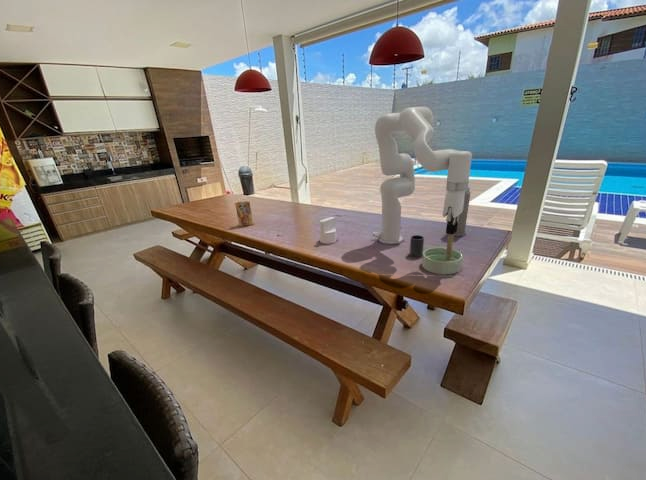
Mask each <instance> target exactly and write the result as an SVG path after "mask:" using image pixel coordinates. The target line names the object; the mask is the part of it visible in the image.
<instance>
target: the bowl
mask: <svg viewBox="0 0 646 480" xmlns="http://www.w3.org/2000/svg"><path fill="white" fill-rule="evenodd" d="M446 250H447V247H437V246H436V247H429V248H426V249H425V250H423V256H422V259H421V266H422V268H423V269H424V270H425V271H427V272H429V273H432V274H436V275H453V274H454V275H455V274H456V273H459V272H460V271H461V270H462V264H463V257H464V256H463V254H462V253H461V252H460V251H459V250H456V249H453V248H452V252H451V260H450V261H449V262H447V261H445V258H446Z"/></svg>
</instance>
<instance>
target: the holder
mask: <svg viewBox="0 0 646 480" xmlns="http://www.w3.org/2000/svg"><path fill="white" fill-rule="evenodd" d="M424 245H425V237H424V236H423V235H419V234H415V235H411V236H410V241H409V257H412V258H421V257H423V252H424V247H425V246H424Z"/></svg>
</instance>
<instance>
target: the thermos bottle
mask: <svg viewBox="0 0 646 480" xmlns="http://www.w3.org/2000/svg"><path fill="white" fill-rule="evenodd" d="M469 182H470V180H469V181H468V184H469ZM470 189H471V188H470V186H468V189H467V191H465V197H464V206H463V211H462V213H461V214H460V215H459V219H458V222H456V223H458V226H457V232H455V233H454V236H453V237H463V236H465V234H466V226H467V219H468V212H469V206H470V198H471V190H470Z"/></svg>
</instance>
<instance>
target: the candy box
mask: <svg viewBox="0 0 646 480" xmlns="http://www.w3.org/2000/svg"><path fill="white" fill-rule="evenodd" d="M234 205H235V210H236V216H237V221H238V225H239V227H243V226H251V225H254V220H253V214H252V208H251V202H250V200H249V199H248V200H240V201H235V202H234Z"/></svg>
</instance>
